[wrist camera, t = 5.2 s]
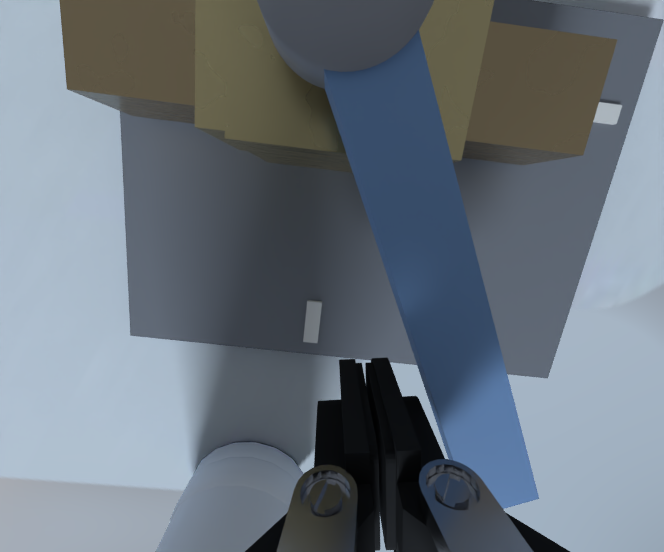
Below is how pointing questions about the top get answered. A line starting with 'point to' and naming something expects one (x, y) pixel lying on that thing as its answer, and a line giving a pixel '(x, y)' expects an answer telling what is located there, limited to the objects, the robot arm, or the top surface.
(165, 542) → the bottle
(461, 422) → the lever
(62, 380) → the top surface
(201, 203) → the base plate
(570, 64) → the valve
